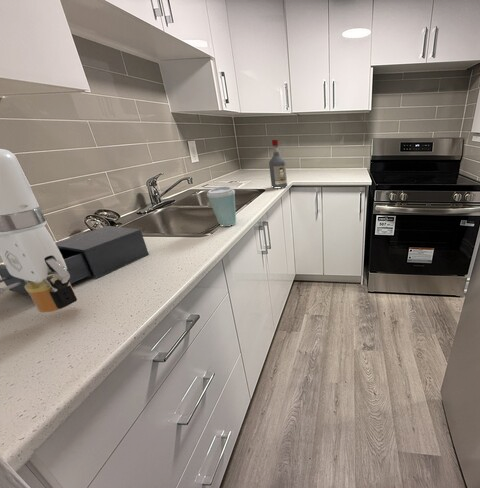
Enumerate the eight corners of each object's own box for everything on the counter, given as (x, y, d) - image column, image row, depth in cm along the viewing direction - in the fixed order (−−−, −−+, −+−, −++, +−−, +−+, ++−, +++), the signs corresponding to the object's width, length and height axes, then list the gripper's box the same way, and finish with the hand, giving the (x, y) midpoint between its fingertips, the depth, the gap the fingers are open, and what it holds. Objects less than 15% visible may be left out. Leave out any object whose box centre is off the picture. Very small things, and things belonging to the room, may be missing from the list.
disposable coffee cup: (234, 229, 104) (227, 191, 98) (208, 229, 105) (200, 191, 99) (244, 220, 113) (238, 185, 107) (220, 220, 114) (213, 186, 108)
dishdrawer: (97, 278, 71) (84, 250, 67) (62, 271, 75) (48, 244, 72) (149, 254, 84) (140, 229, 81) (117, 249, 89) (107, 225, 85)
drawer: (14, 312, 57) (-3, 285, 54) (-20, 301, 61) (-37, 276, 58) (107, 269, 73) (98, 247, 71) (75, 263, 77) (66, 242, 75)
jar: (31, 316, 51) (17, 292, 49) (45, 299, 57) (33, 277, 54) (71, 307, 54) (60, 284, 52) (81, 292, 59) (71, 270, 57)
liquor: (270, 187, 179) (264, 140, 167) (281, 185, 184) (277, 139, 172) (277, 189, 172) (272, 140, 160) (288, 187, 178) (284, 139, 166)
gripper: (-41, 222, 47) (9, 304, 54) (15, 232, 42) (62, 321, 49) (15, 211, 54) (53, 285, 61) (69, 218, 48) (104, 298, 56)
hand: (57, 301), depth 55 cm, fingers closed on jar, 6 cm apart
